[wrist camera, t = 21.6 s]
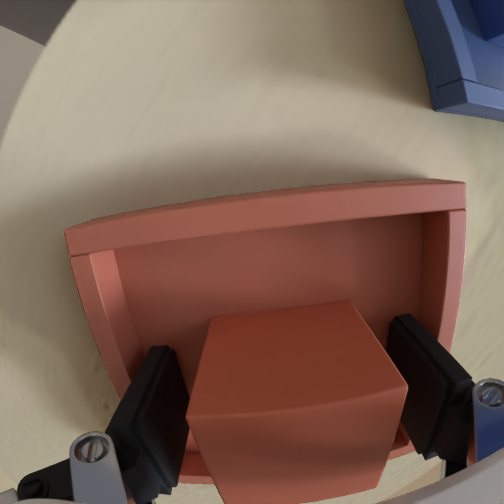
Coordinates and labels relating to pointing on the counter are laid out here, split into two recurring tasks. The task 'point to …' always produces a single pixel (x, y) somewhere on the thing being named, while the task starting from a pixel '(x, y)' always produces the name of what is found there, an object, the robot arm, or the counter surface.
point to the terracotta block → (294, 405)
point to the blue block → (490, 19)
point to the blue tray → (458, 59)
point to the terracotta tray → (269, 269)
